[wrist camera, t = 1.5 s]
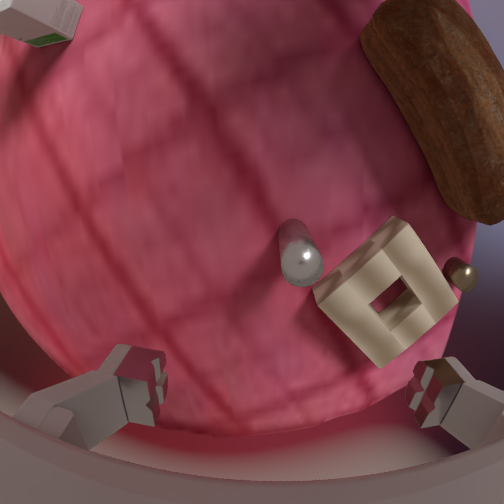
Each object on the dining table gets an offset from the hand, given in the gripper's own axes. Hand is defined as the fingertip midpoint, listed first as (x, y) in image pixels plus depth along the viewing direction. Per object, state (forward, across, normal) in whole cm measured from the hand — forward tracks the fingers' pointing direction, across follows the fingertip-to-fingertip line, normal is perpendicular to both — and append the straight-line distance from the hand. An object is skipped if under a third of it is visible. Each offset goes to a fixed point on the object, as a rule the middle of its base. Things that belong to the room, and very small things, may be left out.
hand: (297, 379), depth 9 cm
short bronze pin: (+28, -27, +4) cm, 39 cm away
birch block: (+29, -16, +8) cm, 34 cm away
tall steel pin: (+29, -3, +1) cm, 29 cm away
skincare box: (+30, +34, -29) cm, 54 cm away
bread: (+28, -21, -18) cm, 39 cm away
